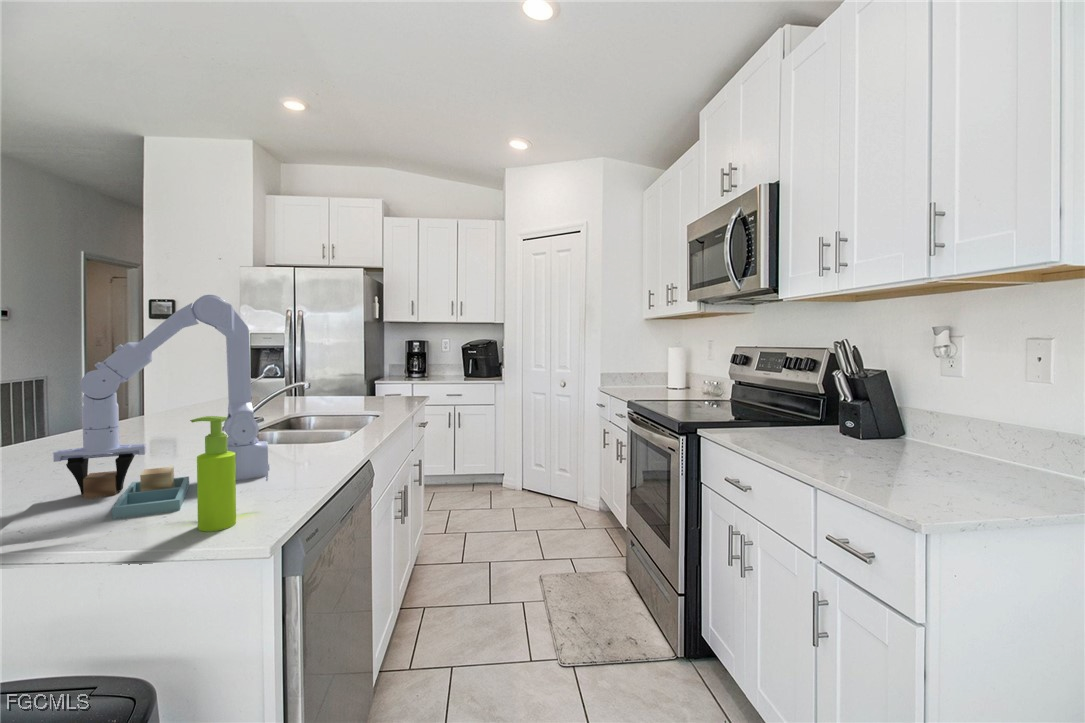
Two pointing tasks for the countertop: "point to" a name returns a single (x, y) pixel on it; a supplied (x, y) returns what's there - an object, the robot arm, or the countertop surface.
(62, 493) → the countertop surface
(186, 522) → the countertop surface
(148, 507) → the caddy
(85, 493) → the walnut block
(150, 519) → the countertop surface
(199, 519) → the soap dispenser
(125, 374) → the robot arm
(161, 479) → the oak twin block
